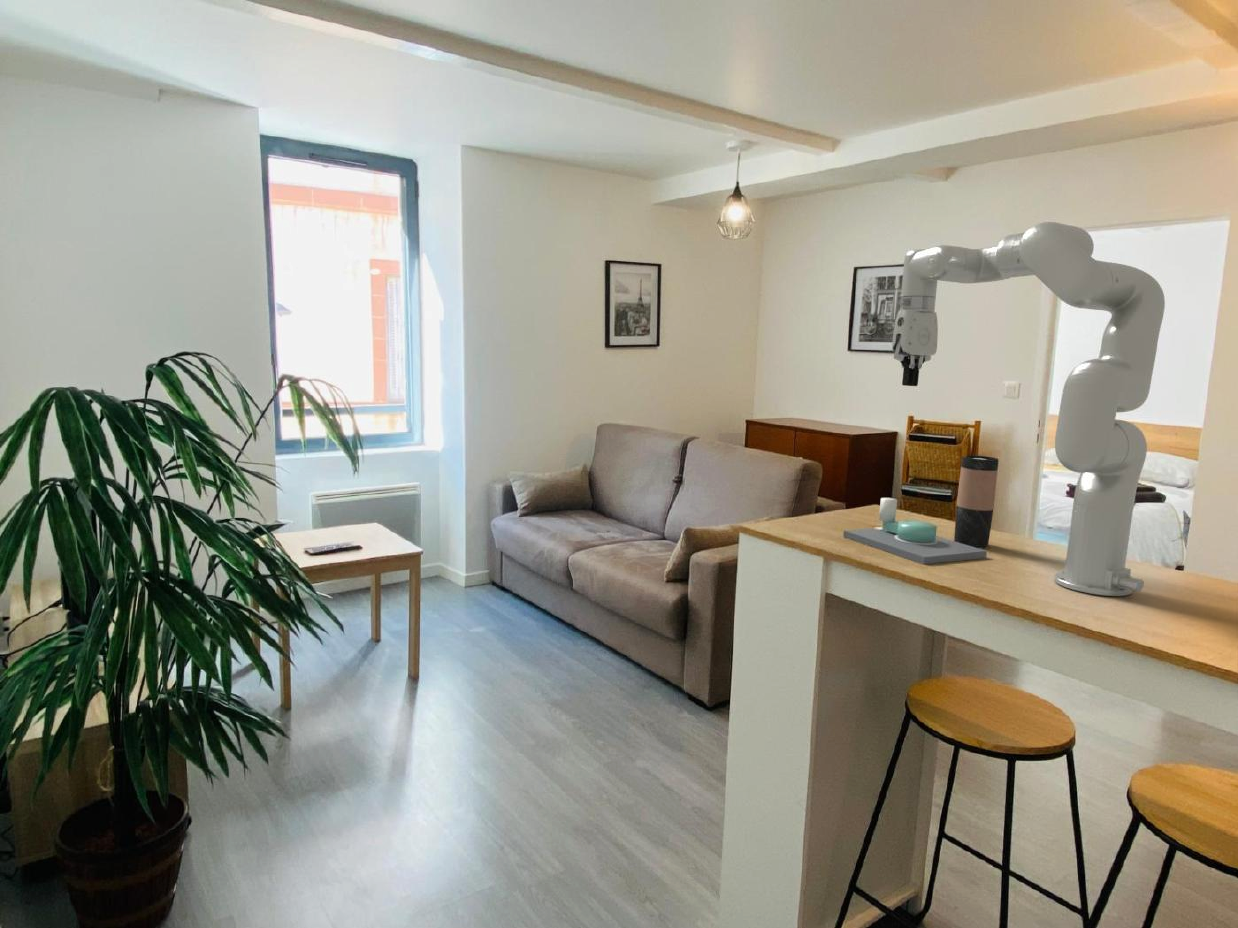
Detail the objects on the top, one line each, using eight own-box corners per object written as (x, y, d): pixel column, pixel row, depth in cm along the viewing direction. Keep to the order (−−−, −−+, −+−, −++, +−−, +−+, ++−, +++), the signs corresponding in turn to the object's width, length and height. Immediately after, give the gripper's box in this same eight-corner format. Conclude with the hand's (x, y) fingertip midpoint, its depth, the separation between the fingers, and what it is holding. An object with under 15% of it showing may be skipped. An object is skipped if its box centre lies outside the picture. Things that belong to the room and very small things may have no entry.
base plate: (986, 557, 166) (986, 549, 166) (923, 564, 158) (924, 556, 158) (901, 532, 187) (902, 525, 187) (843, 536, 180) (843, 529, 179)
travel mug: (995, 549, 174) (1005, 460, 171) (960, 547, 174) (970, 459, 171) (980, 540, 181) (989, 456, 179) (947, 539, 182) (956, 454, 179)
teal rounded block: (943, 540, 171) (946, 509, 170) (916, 543, 168) (919, 511, 167) (893, 525, 184) (896, 496, 183) (867, 528, 181) (870, 498, 180)
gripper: (906, 303, 172) (898, 386, 175) (953, 307, 179) (945, 387, 181) (881, 304, 179) (874, 384, 181) (927, 308, 185) (919, 385, 188)
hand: (909, 385), depth 181 cm, fingers closed
